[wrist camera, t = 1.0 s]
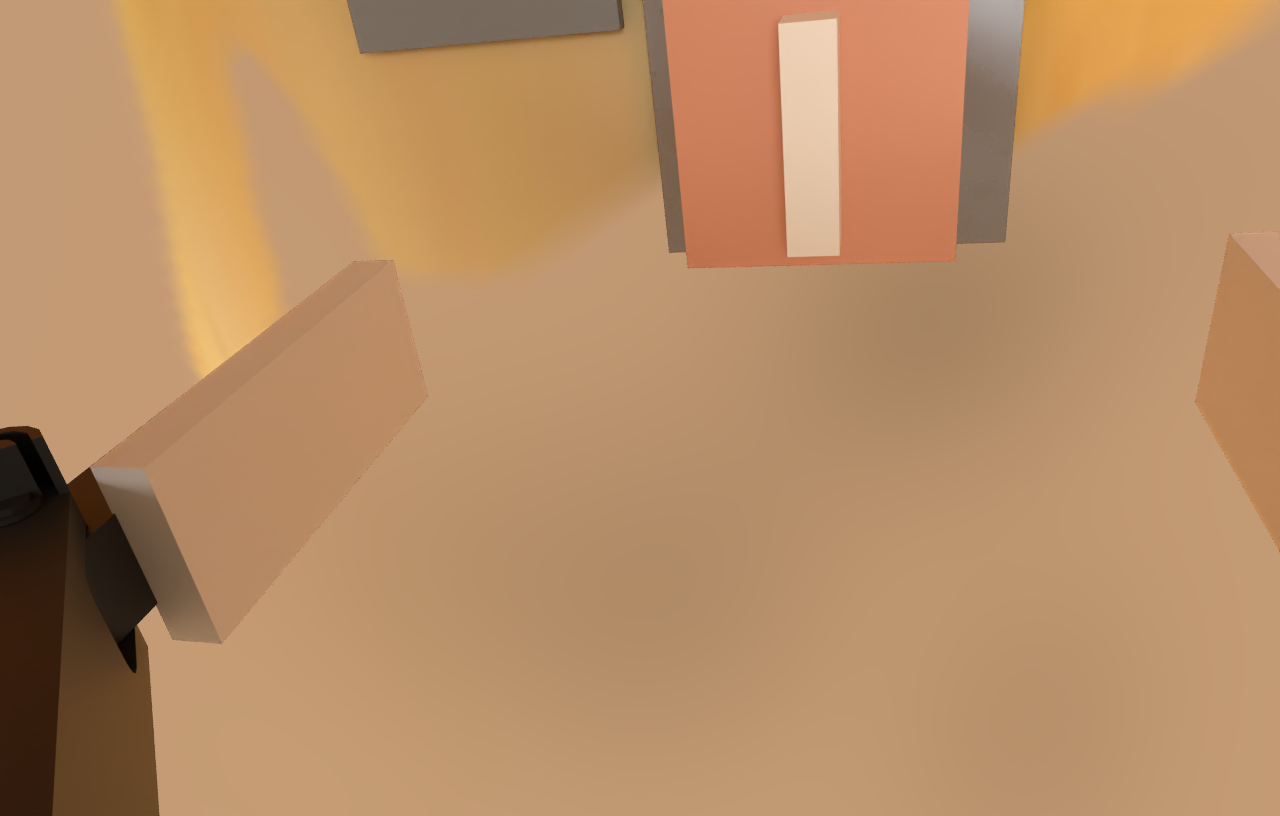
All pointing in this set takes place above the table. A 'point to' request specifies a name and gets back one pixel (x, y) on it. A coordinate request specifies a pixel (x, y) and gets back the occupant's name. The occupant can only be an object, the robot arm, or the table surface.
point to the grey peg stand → (982, 135)
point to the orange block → (817, 129)
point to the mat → (474, 21)
